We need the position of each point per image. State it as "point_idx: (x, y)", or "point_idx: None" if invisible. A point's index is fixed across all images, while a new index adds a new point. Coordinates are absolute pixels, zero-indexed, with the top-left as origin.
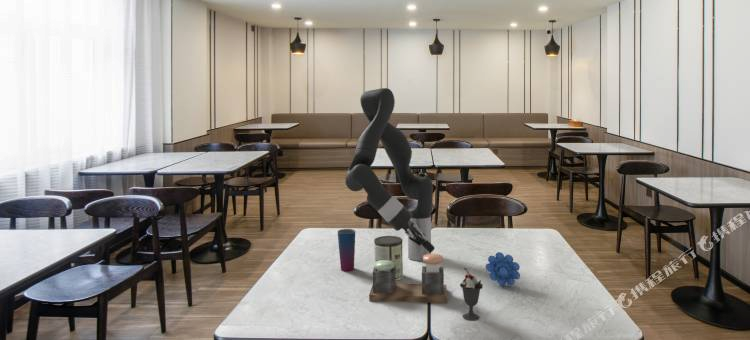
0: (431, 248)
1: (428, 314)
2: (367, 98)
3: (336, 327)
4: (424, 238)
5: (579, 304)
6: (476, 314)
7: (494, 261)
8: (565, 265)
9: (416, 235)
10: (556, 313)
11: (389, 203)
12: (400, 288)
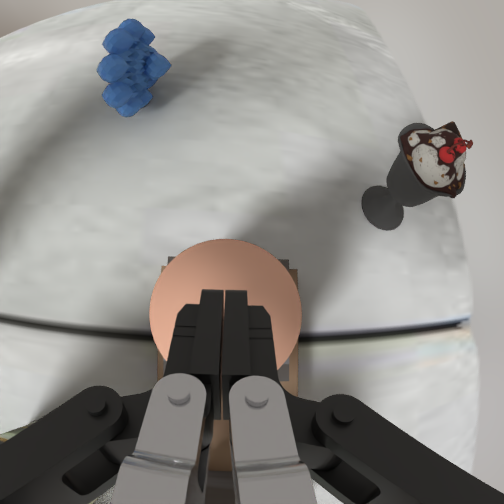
0: (268, 319)
1: (385, 335)
2: None
3: None
4: (283, 415)
5: (263, 13)
6: (371, 190)
7: (126, 63)
8: (64, 23)
9: (494, 493)
10: (315, 45)
11: None
12: (217, 453)
